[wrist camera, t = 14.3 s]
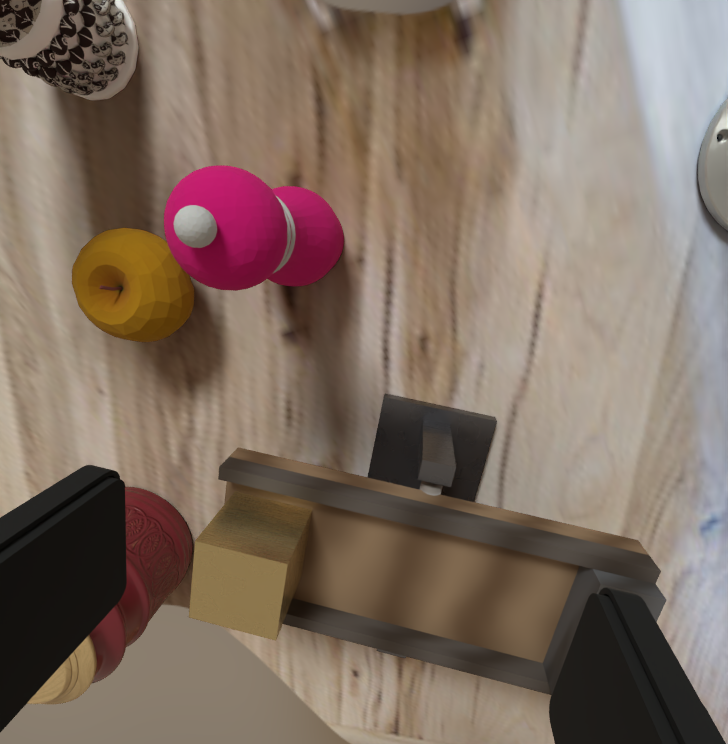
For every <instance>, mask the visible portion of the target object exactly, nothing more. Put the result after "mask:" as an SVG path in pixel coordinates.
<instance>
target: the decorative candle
mask: <svg viewBox="0 0 728 744" xmlns="http://www.w3.org/2000/svg"><path fill="white" fill-rule="evenodd" d="M138 50H139V46H138V39H137V33H136V27H135V23H134V21H133V19H132V17H131V15H130V13H129V11H128V9H127V7H126V5H125V3H124V2H123V1H122V0H0V59H2V60H3V61H4V63H5V64H6V65H8V66H10V67H12V68H20V67H22V69H23V70H24V72H25V73H27V74H28V75H30V76H36V77H38V78H41V79H42V80H43V81H44V82H45V83H47V84H49V85H51V86H55V87H59V88H60V89H62V90H63V91H65V92H67V93H72V94H74V95H77V96H80V97H83V98H86V99H88V100H91V101H94V100H102V99H110V98H111V97H113V96H114V95H116V94H117V93H118V92H120V91H121V90H123V89H124V88H125V87H126V85H127V83H128V82H129V80H130V78H131V77H132V75H133V73H134V71H135V68H136V62H137V56H138Z"/></svg>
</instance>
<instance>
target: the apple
mask: <svg viewBox="0 0 728 744" xmlns="http://www.w3.org/2000/svg"><path fill="white" fill-rule="evenodd" d="M72 285H73V288H74V291H75V294H76V298H77V301H78V304H79V307H80V308H81V310H82V311H83V312H84V314H85V315H86V316H87V318H88V319H89V320H90V321H91V322H92V323H93V324H95V325H96V326H97V327H98V328H100V329H101V330H102V331H104V332H106V333H108V334H110V335H112V336H115V337H118V338H122V339H127V340H132V341H138V342H152V341H157V340H160V339H163V338H166V337H168V336H170V335H171V334H172V333H174V332H175V331H176V330H178V329H179V328H180V327H181V326H182V325H183V324H184V323H185V322H186V320H187V319H188V318H189V316H190V315H191V312H192V309H193V306H194V288H193V285H192V282H191V279H190V276H189V274H187V273H186V272H185V271H184V270H183V269H182V268H181V267H180V265H179V264H178V262H177V261H176V260H175V258H174V257H173V255H172V253H171V251H170V249H169V246H168V243H167V242H166V241H165V240H163V239H162V238H160V237H159V236H157V235H154V234H152V233H150V232H147V231H144V230H140V229H131V228H119V229H112V230H107V231H105V232H102V233H100V234H98V235H97V236H95V237H94V238H93V239H91V240H90V241H89V242H88V243H87V244H86V245H85V246H84V247H83V248H82V249H81V251H80V253H79V255H78V257H77V259H76V261H75V263H74V265H73V269H72Z"/></svg>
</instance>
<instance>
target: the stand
mask: <svg viewBox="0 0 728 744" xmlns="http://www.w3.org/2000/svg"><path fill="white" fill-rule="evenodd" d="M496 422H497V421H496V418H495V417H492V416H487V415H483V414H478V413H473V412H469V411H464V410H459V409H455V408H450V407H445V406H441V405H436V404H431V403H427V402H422V401H417V400H413V399H408V398H403V397H399V396H394V395H389V394H385V395H384V399H383V404H382V409H381V414H380V419H379V424H378V428H377V433H376V438H375V443H374V448H373V453H372V458H371V463H370V468H369V473H368V478H371V479H376V480H380V481H384V482H389V483H393V484H397V485H402V486H406V487H410V488H414V489H420V485H421V481H426V482H430V483H434V484H439V485H442V486H443V487H442V491H441V495H445V496H449V497H453V498H458V499H462V500H466V501H470V502H474V500H475V496H476V493H477V489H478V486H479V482H480V478H481V475H482V471H483V468H484V464H485V461H486V457H487V454H488V450H489V447H490V443H491V440H492V436H493V433H494V429H495V426H496ZM377 651H379V652H383V653H387V654H391V655H395V656H398V657H402V658H406V656H403V655H399V654H395V653H391V652H388V651H384V650H380V649H377Z"/></svg>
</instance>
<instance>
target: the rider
mask: <svg viewBox="0 0 728 744" xmlns="http://www.w3.org/2000/svg"><path fill="white" fill-rule="evenodd" d="M311 514H312V510H311V509H306V508H302V507H298V506H294V505H290V504H286V503H281V502H277V501H273V500H269V499H265V498H261V497H256V496H252V495H248V494H244V493H240V492H234V493H233V495H232V496H231V497H230V498H229V500H228V501H227V502H226V503H225V505H224V506H223V507H222V508H221V510H220V511H219V512H218V513H217V514H216V516H215V517H214V518H213V519H212V521H211V522H210V523H209V524H208V526H207V527H206V528H205V529H204V531H203V532H202V533H201V534H200V536H199V537H198V538H197V539H196V540H195V548H194V560H193V573H192V585H191V597H190V609H189V617H190V618H193V619H197V620H201V621H205V622H209V623H212V624H216V625H219V626H223V627H227V628H231V629H234V630H238V631H242V632H246V633H249V634H253V635H257V636H261V637H264V638H268V639H272V640H276V639H277V637H278V634H279V632H280V629H281V627H282V624H283V622H284V619H285V616H286V614H287V611H288V609H289V606H290V604H291V601H292V598H293V596H294V593H295V591H296V588H297V586H298V583H299V581H300V578H301V575H302V569H303V562H304V556H305V550H306V544H307V538H308V532H309V526H310V520H311Z"/></svg>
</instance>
